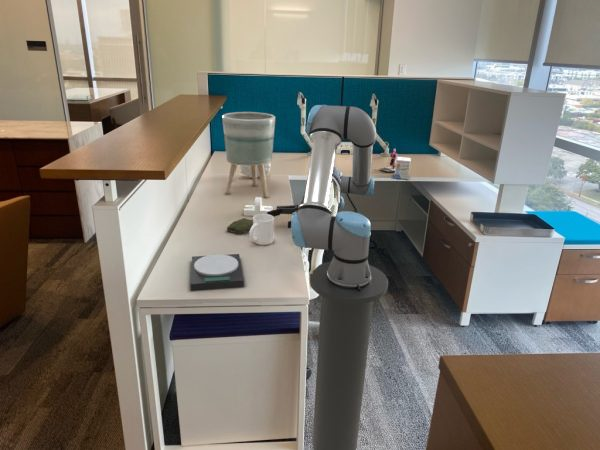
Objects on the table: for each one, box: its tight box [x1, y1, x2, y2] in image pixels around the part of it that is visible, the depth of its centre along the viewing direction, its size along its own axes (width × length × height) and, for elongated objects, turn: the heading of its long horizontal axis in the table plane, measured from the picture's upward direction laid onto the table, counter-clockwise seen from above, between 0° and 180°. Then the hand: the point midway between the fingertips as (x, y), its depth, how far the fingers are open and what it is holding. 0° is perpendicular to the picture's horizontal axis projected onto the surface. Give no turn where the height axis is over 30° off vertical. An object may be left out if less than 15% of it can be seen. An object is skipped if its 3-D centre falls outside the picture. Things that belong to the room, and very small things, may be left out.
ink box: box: [393, 156, 412, 180], centre depth 274 cm, size 9×8×12 cm
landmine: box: [226, 217, 253, 235], centre depth 191 cm, size 14×3×15 cm
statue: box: [379, 148, 398, 173], centre depth 286 cm, size 11×9×15 cm
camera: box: [239, 162, 272, 179], centre depth 261 cm, size 11×18×16 cm, turn 97°
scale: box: [190, 253, 245, 291], centre depth 153 cm, size 20×17×3 cm
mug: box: [248, 214, 275, 246], centre depth 177 cm, size 12×8×10 cm
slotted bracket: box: [243, 196, 274, 217], centre depth 208 cm, size 13×7×8 cm, turn 88°
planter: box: [221, 111, 276, 198], centre depth 231 cm, size 26×26×40 cm
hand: (277, 220), depth 182 cm, fingers open, 13 cm apart
